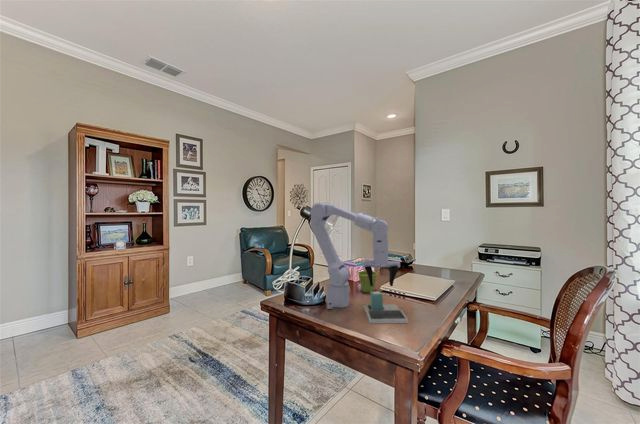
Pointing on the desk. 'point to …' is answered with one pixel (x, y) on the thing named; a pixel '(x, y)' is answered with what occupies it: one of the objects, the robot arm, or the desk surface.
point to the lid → (385, 307)
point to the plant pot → (366, 281)
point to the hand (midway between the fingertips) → (381, 285)
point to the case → (386, 316)
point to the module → (376, 301)
